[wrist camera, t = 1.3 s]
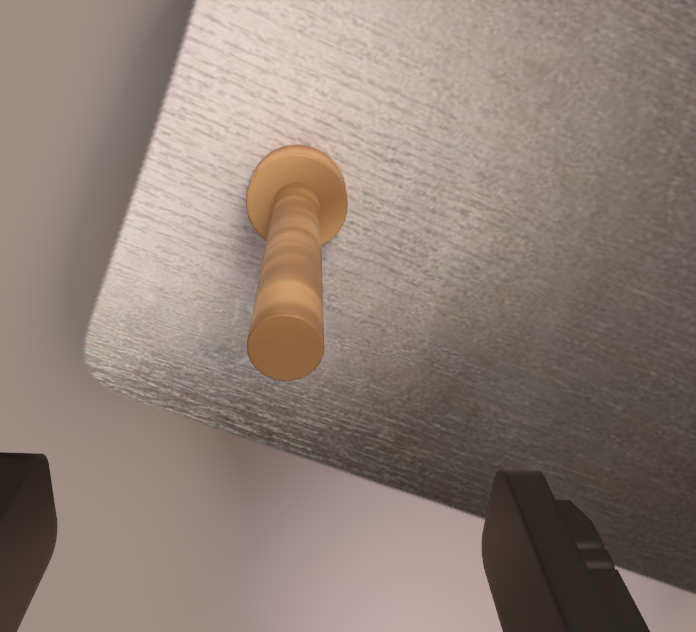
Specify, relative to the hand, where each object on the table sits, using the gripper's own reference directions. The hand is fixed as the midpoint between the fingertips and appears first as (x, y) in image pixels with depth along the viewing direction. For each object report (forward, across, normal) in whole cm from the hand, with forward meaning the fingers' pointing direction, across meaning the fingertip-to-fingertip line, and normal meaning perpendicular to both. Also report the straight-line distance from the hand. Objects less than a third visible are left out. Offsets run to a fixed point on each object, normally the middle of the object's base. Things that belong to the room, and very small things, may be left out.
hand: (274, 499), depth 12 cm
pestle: (+21, 0, 0) cm, 21 cm away
